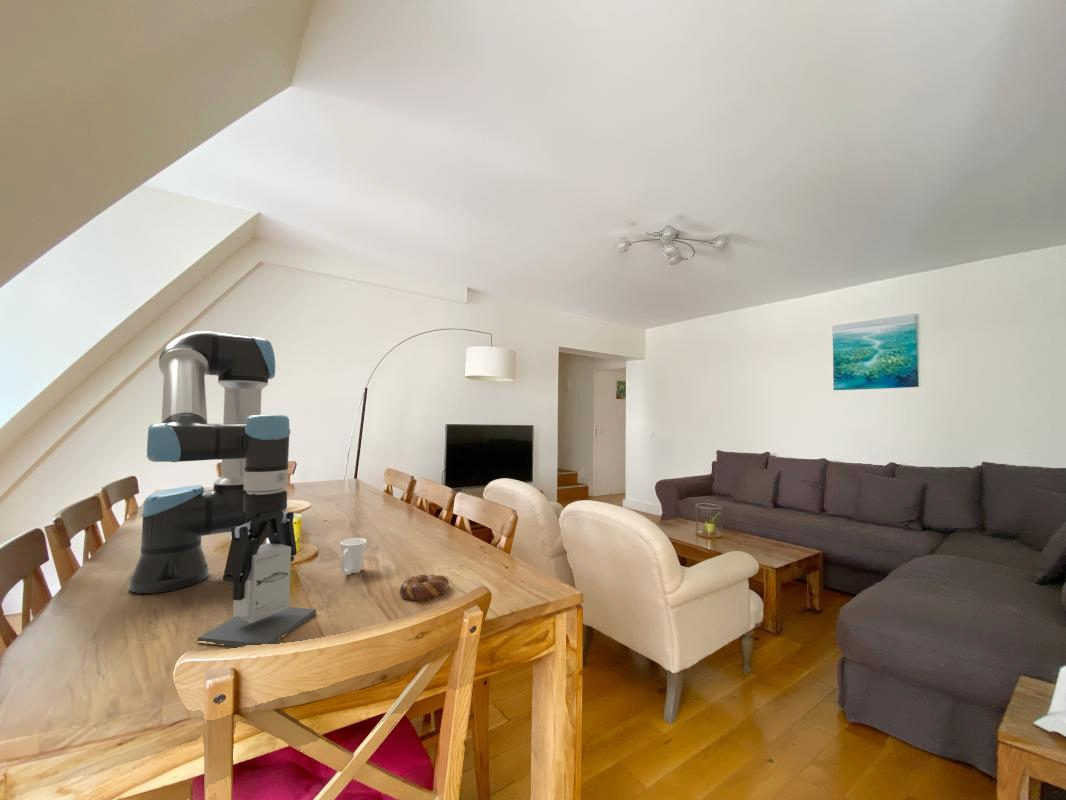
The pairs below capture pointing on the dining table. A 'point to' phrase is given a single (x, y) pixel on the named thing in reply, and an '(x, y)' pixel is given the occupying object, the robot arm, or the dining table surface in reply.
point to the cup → (352, 555)
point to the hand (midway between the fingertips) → (261, 604)
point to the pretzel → (423, 587)
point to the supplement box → (269, 581)
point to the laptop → (258, 628)
